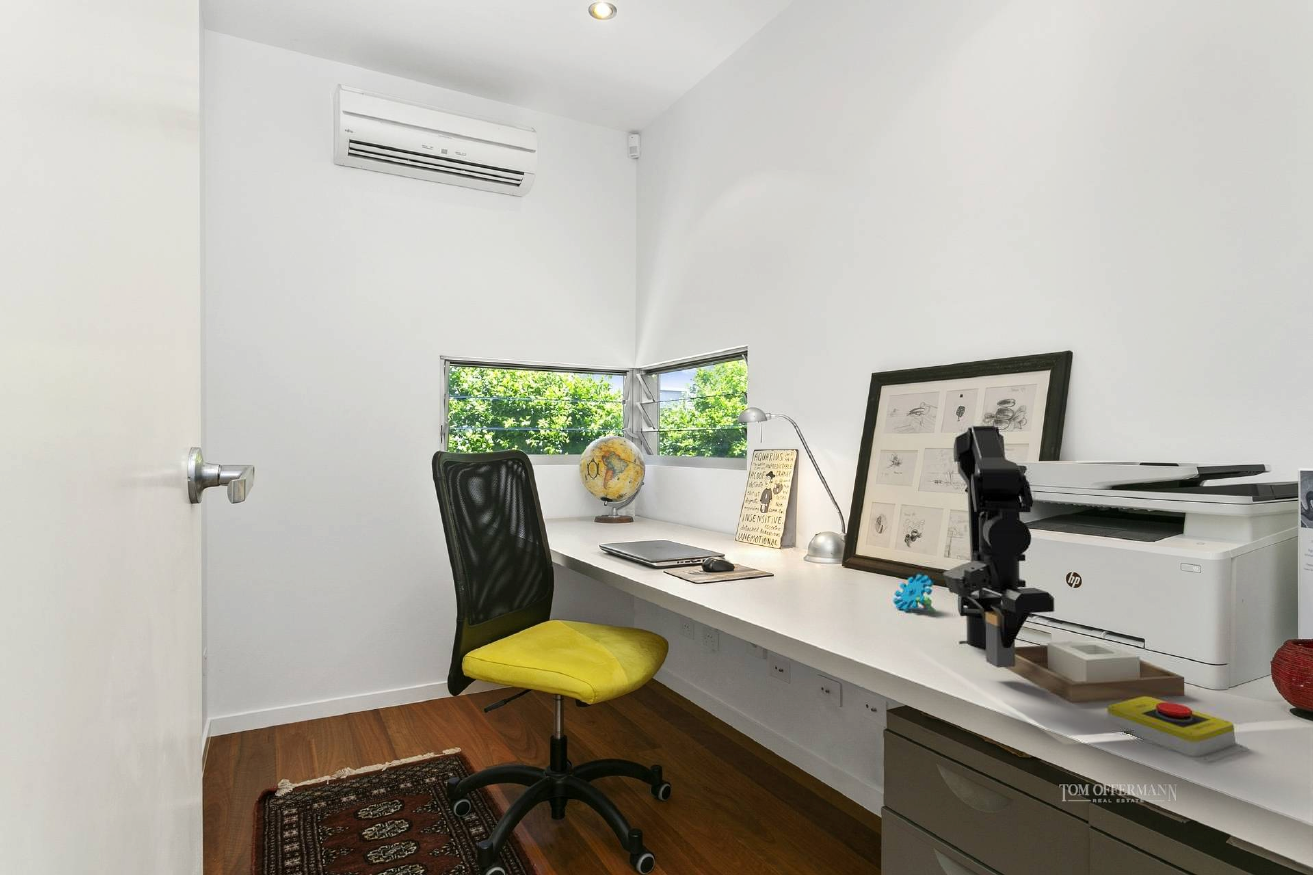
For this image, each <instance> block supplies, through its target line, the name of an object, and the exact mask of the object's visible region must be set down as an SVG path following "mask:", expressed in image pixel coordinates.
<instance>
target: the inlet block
mask: <svg viewBox="0 0 1313 875" xmlns="http://www.w3.org/2000/svg"><path fill="white" fill-rule="evenodd" d="M1046 645H1048V669H1050V670H1052V671H1054V672H1056V673H1058V674H1060V675H1062V676H1064V677H1066V678H1068V679H1070V680H1072V681H1075V682H1083V681H1099V680H1115V679H1131V678H1140V660H1141V656H1139V655H1136V654H1134V653H1131V652H1128V651H1127V650H1123V649H1122V648H1118V647H1116V646H1113V645H1111V644H1108V643H1105V642H1103V641H1101V640H1098V639H1097V640H1079V641H1078V640H1077V641H1063V642H1048V643H1047V644H1046Z"/></svg>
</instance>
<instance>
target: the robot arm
mask: <svg viewBox="0 0 1313 875" xmlns="http://www.w3.org/2000/svg"><path fill="white" fill-rule="evenodd" d="M954 438H955V439H954V443H953V461H954V463H957V472H958V474H959V476H960V477H961V478H962V479H963V481H964V482H965V483H966V486H967V505H968V506H967V507H968V508H967V509H968V530H969V550H970V552H969V553H970V562H966V563H963V564H960V565H958V566H956V567H953V568H951V569H948V570H945V571H944V572H943V573H942V575H943V577H944V580H945V583H946V585H947V588H948V590H949V593H950V594H955V595H957V611H958V613H959V616H960V617H965V618H966V640H959V641H958V644H959V645H966V644H967V645H968V646H970V647H974V648H977V649H981V650H985V651H986V612H990V611H995V612H996V613H997V614H998V615H999V623H1000V632H1001V640H1002V645H1003V647H1004V648H1010V647H1011V646H1012V644H1013V642H1014V640H1015V641H1016V639H1017V637H1018V635H1019V633H1020V631H1021V629H1022V627H1023V626H1024V624H1025V622H1026V621H1027V619H1028V618H1029V616H1030V615H1031V614H1034V613H1035V614H1038V613H1039V614H1040V613H1054V612H1055V597H1054V596H1053V595H1051V593H1050V592H1048V591H1044V590H1041V589H1040V588H1036V587H1027V584H1026V580H1025V579H1021V577H1020V562H1026V554H1024V553H1025V552H1026V551H1027V550H1028V549H1029V547H1030V545H1031V542H1032V534H1031V531H1030V528H1029V527H1028V526H1027V524H1025V523H1024V521H1022V520H1021V517H1020V514H1021V513H1026V514H1027V513H1031V511H1032V510H1031V508H1033V505H1034V500H1033V495H1032V491H1031V485H1030V482H1029V481H1028V480H1027V476H1026V475H1025V473H1024V474H1023V473H1022V471H1021V468H1020V467H1019V466H1018V464H1017V463H1016V462H1014V461H1011V460H1008V459H1007V458H1006V453H1005V439H1004V438H1005V437H1004V436H1003V435H1002V434H1001V433H1000V429H999V427H998V426H994V425H978V426H977V425H972V426H971V427H967V431H965V432H964V433H961V434H960V435H957V436H956V437H954Z"/></svg>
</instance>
